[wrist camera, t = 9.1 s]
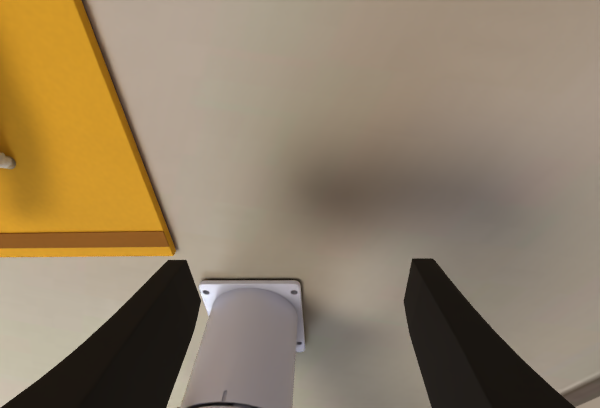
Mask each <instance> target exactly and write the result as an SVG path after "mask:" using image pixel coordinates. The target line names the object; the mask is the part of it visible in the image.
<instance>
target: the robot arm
mask: <svg viewBox="0 0 600 408" xmlns="http://www.w3.org/2000/svg"><path fill="white" fill-rule="evenodd" d="M199 290H200V293H201V296H202V299H203V301H204V304H205V307H206V310H207V313H208V315H209V318H208V321H207V325H206V328H205V331H204V334H203V337H202V340H201V344H200V347H199V350H198V353H197V356H196V359H195V363H194V366H193V369H192V372H191V375H190V378H189V381H188V385H187V388H186V391H185V394H184V397H183V400H182V404H181V407H177V408H292V405H293V388H294V371H295V354H296V352H303V351H305V335H304V323H303V311H302V298H301V286H300V283H299V282H298V281H295V280H204V281H201V282H200V284H199ZM294 290H295V291H294ZM200 303H201V299H200V296H199V294H198V291H197V288H196V285H195V283H194V280H193V277H192V274H191V272H190V269H189V266H188V263H187V261H186V260H168V261H167V262H166V263H165V264H164V265H163V266H162V267H161V268H160V269H159V270H158V271H157V272H156V273H155V274H154V275H153V276H152V277H151V278H150V279H149V280H148V281H147V282H146V283H145V284H144V285H143V286H142V287H141V288H140V289H139V290H138V291H137V292H136V293H135V294H134V295H133V296H132V297H131V298H130V299H129V300H128V301H127V302H126V303H125V304H124V305H123V306H122V307H121V308H120V309H119V310H118V311H117V312H116V313H115V314H114V315H113V316H112V317H111V318H110V319H109V320H108V321H107V322H105V323H104V324H103V325H102V326H101V327H100V328H99V329H98V330H97V331H96V332H95V333H94V334H92V335H91V336H90V337H89V338H88V339H87V340H86V341H85V342H84V343H83V344H81V345H80V346H79V347H78V348H77V349H76V350H75V351H73V352H72V353H71V354H70V355H69V356H67V357H66V358H65V359H64V360H63V361H61V362H60V363H59V364H58V365H56V366H55V367H54V368H53V369H51V370H50V371H49V372H48V373H46V374H45V375H44V376H43V377H41V378H40V379H39V380H38V381H36V382H35V383H34V384H32V385H31V386H29V387H28V388H27V389H25V390H24V391H23V392H21V393H20V394H19V395H17V396H16V397H15V398H13V399H12V400H10V401H9V402H8V403H6V404H5V405H4V406H2V407H1V408H166V407H167V404H168V401H169V398H170V395H171V393H172V390H173V387H174V384H175V382H176V379H177V376H178V374H179V371H180V368H181V365H182V363H183V360H184V357H185V355H186V352H187V349H188V346H189V344H190V341H191V338H192V335H193V332H194V329H195V325H196V321H197V317H198V312H199V307H200ZM404 306H405V312H406V317H407V323H408V328H409V333H410V337H411V340H412V344H413V347H414V350H415V354H416V357H417V360H418V364H419V367H420V370H421V374H422V377H423V380H424V384H425V387H426V390H427V394H428V397H429V400H430V404H431V407H432V408H575V407H574V406H573V405H572V404H571V403H569V402H568V401H567V400H566V399H565V398H564V397H563V396H561V395H560V394H559V393H558V392H557V391H556V390H555V389H553V388H552V387H551V386H550V385H549V384H548V383H547V382H546V381H545V380H544V379H543V378H542V377H540V376H539V375H538V374H537V373H536V372H535V371H534V370H533V369H532V368H531V367H530V366H529V365H528V364H527V363H526V362H525V361H524V360H523V359H521V358H520V357H519V356H518V355H517V354H516V353H515V352H514V351H513V350H512V348H511V347H510V346H509V345H508V344H507V343H506V342H505V341H504V340H503V339H502V338H501V337H500V336H499V335H498V334H497V333H496V332H495V331H494V330H493V329H492V328H491V327H490V325H489V324H488V323H487V322H486V321H485V320H484V319H483V318H482V317H481V315H480V314H479V313H478V312H477V311H476V310H475V309H474V308H473V306H472V305H471V304H470V303H469V302H468V301H467V299H466V298H465V297H464V296H463V295H462V294H461V292H460V291H459V290H458V289H457V288H456V286H455V285H454V284H453V283H452V281H451V280H450V279H449V278H448V276H447V275H446V274H445V273H444V271H443V270H442V269H441V268H440V266H439V265H438V264H437V263H436V261H435V260H434V259H412V263H411V268H410V273H409V278H408V283H407V288H406V292H405V297H404Z"/></svg>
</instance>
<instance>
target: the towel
mask: <svg viewBox="0 0 600 408" xmlns="http://www.w3.org/2000/svg"><path fill="white" fill-rule="evenodd" d="M0 153H4V154H5V156H10V157H12V158H13V159H14V160H15V162H16V166H15V168H13V169H6V168H0V257H85V256H173V255H174V254H175V252H176V249H175V246H174V244H173V241H172V238H171V236H170V233H169V230H168V228H167V225H166V223H165V220H164V217H163V215H162V212H161V209H160V207H159V204H158V201H157V199H156V196H155V193H154V191H153V188H152V186H151V183H150V180H149V178H148V175H147V172H146V170H145V167H144V164H143V162H142V159H141V157H140V154H139V151H138V149H137V146H136V143H135V141H134V138H133V135H132V133H131V130H130V127H129V125H128V122H127V120H126V117H125V114H124V112H123V109H122V106H121V104H120V101H119V98H118V96H117V93H116V90H115V88H114V85H113V83H112V80H111V77H110V75H109V72H108V69H107V67H106V64H105V61H104V59H103V56H102V53H101V51H100V48H99V46H98V43H97V40H96V38H95V35H94V32H93V30H92V27H91V24H90V22H89V19H88V17H87V14H86V11H85V9H84V6H83V3H82V1H81V0H0Z"/></svg>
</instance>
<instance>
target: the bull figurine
mask: <svg viewBox="0 0 600 408" xmlns="http://www.w3.org/2000/svg"><path fill="white" fill-rule="evenodd" d="M15 166H16V162H15V160H14V159H13V158H12V157H10V156H5V154H4V153H0V168H6V169H13V168H15Z"/></svg>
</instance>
